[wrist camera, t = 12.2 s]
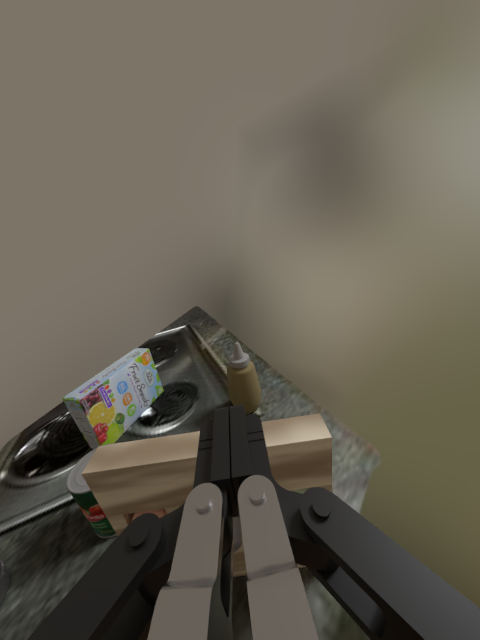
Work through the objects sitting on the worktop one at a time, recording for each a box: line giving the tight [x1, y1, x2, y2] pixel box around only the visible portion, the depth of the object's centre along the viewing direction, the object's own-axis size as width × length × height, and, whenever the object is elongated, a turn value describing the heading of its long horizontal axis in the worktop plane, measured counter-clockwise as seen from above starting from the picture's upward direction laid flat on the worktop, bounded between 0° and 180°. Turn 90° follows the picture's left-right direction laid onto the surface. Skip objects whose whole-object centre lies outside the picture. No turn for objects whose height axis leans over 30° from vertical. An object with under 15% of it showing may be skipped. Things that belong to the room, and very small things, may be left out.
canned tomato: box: [67, 444, 117, 538], centre depth 37 cm, size 8×8×11 cm
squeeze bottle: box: [227, 342, 261, 414], centre depth 54 cm, size 8×8×18 cm
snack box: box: [63, 348, 164, 449], centre depth 58 cm, size 21×6×15 cm, turn 161°
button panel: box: [82, 414, 332, 577], centre depth 30 cm, size 10×24×22 cm, turn 92°
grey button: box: [233, 507, 242, 552], centre depth 24 cm, size 4×4×4 cm
